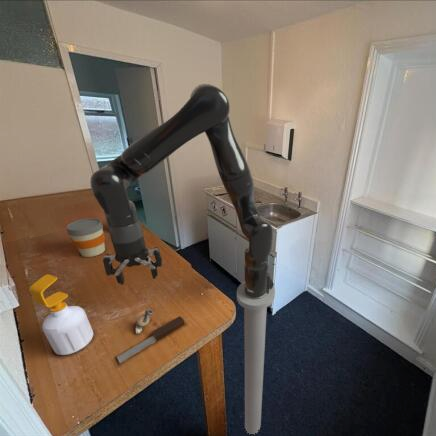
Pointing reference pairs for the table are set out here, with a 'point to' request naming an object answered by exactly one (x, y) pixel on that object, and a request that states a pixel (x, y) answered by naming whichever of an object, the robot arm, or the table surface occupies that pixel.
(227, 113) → the robot arm
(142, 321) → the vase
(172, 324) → the knife
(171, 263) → the table surface
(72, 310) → the soap bottle
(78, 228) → the reusable coffee cup
